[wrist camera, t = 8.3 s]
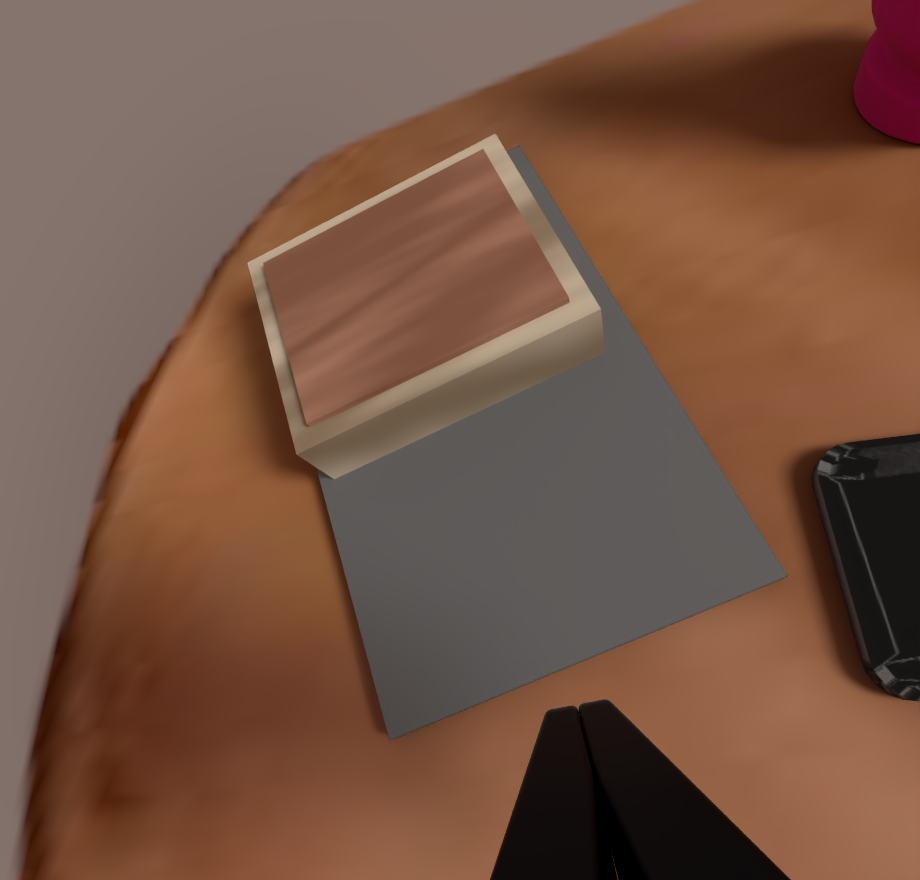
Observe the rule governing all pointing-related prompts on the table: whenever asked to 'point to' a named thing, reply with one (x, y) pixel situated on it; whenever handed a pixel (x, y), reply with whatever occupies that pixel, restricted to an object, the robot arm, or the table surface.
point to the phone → (877, 551)
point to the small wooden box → (420, 310)
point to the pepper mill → (892, 71)
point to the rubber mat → (539, 527)
